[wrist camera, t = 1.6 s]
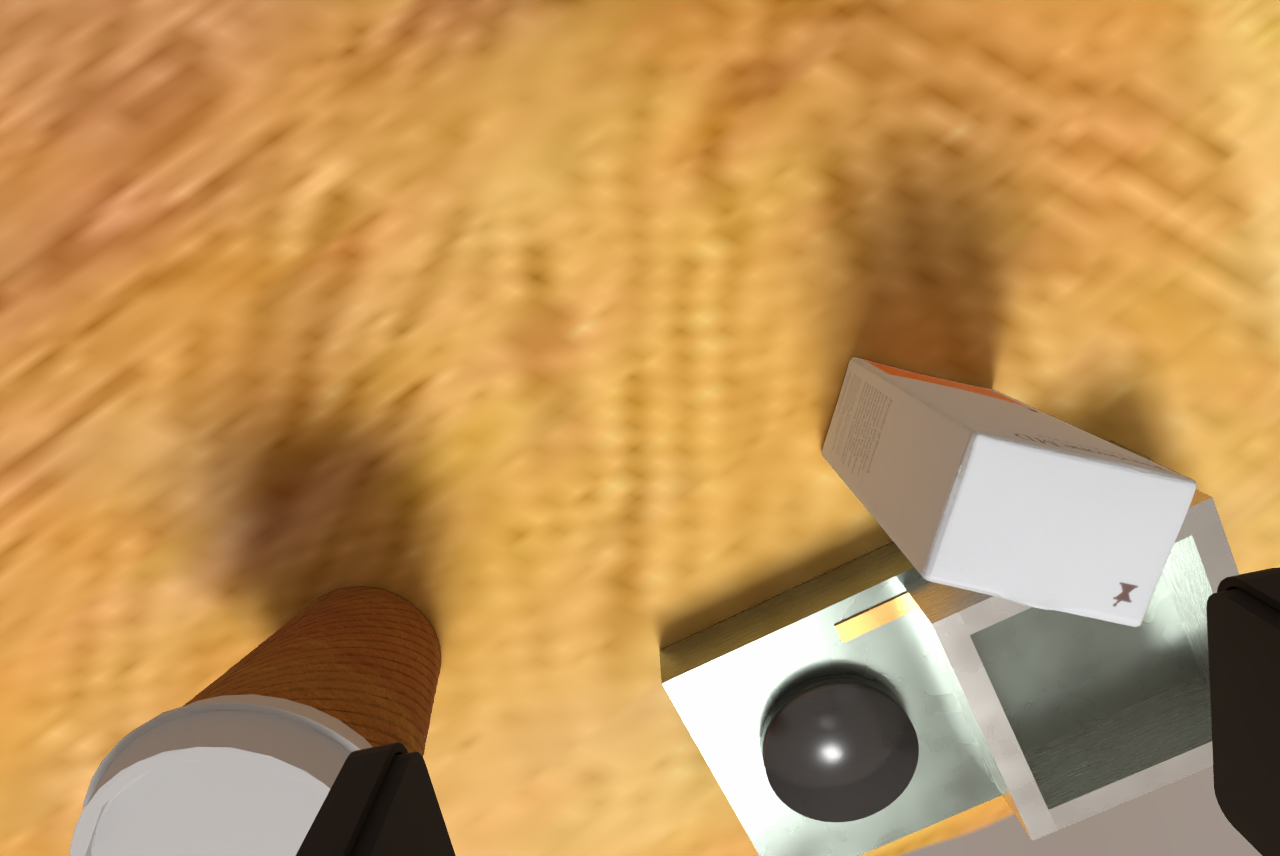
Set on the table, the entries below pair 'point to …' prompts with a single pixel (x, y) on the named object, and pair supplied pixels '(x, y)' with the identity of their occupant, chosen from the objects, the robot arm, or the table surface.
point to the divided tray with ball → (946, 701)
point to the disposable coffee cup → (268, 735)
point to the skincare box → (1005, 494)
